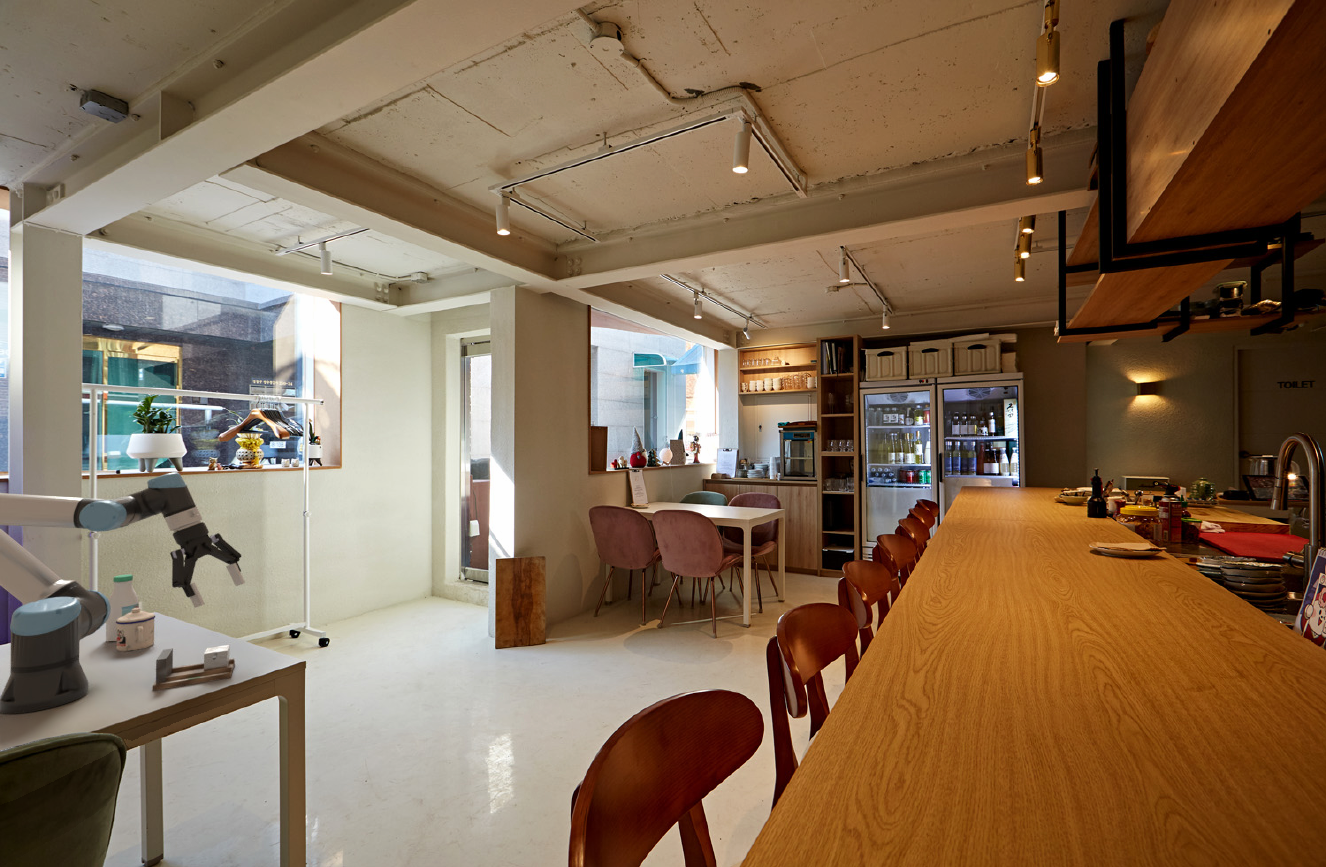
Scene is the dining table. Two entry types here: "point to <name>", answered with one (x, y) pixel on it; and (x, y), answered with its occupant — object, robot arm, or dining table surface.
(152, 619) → the teacup with lid
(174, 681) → the gauge board
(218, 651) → the white box
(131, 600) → the milk bottle
